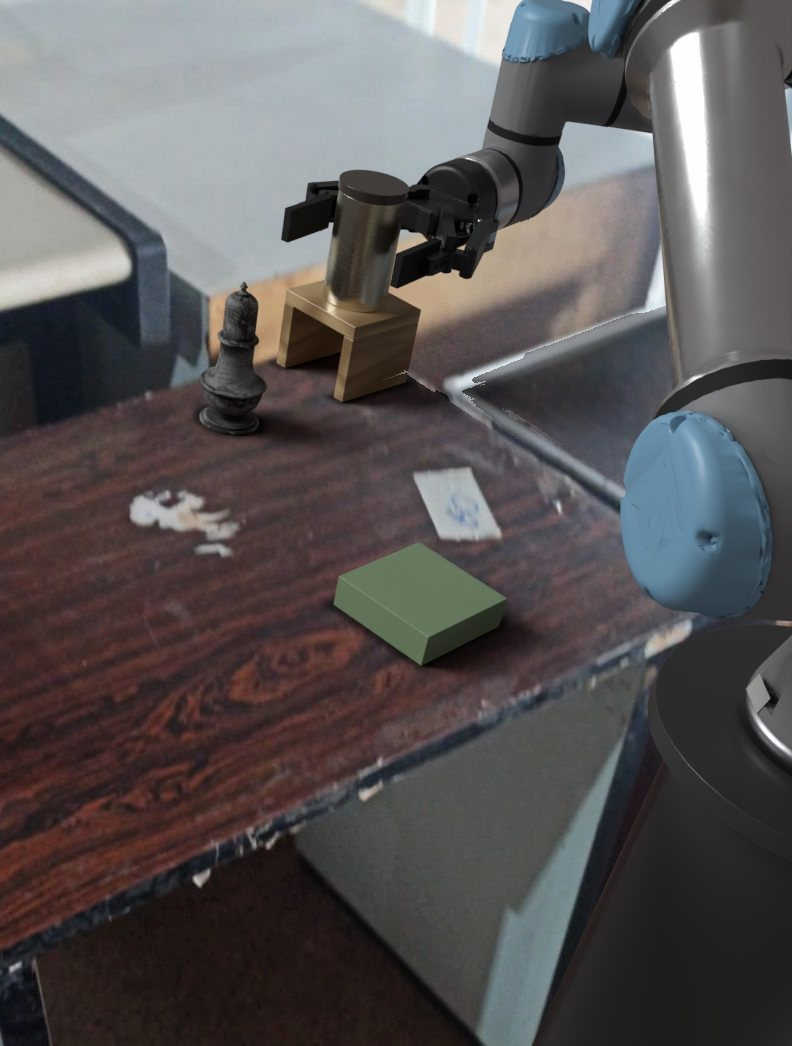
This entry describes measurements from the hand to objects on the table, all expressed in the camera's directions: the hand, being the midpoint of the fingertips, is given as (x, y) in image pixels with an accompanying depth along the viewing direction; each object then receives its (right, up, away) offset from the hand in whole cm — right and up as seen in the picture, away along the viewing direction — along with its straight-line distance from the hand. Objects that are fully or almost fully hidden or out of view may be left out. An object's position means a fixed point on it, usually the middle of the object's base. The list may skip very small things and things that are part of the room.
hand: (340, 248), depth 112 cm
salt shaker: (-10, -15, +1) cm, 18 cm away
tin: (+2, -2, +6) cm, 7 cm away
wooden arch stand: (+1, -6, +11) cm, 13 cm away
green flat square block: (+5, -36, -16) cm, 40 cm away
